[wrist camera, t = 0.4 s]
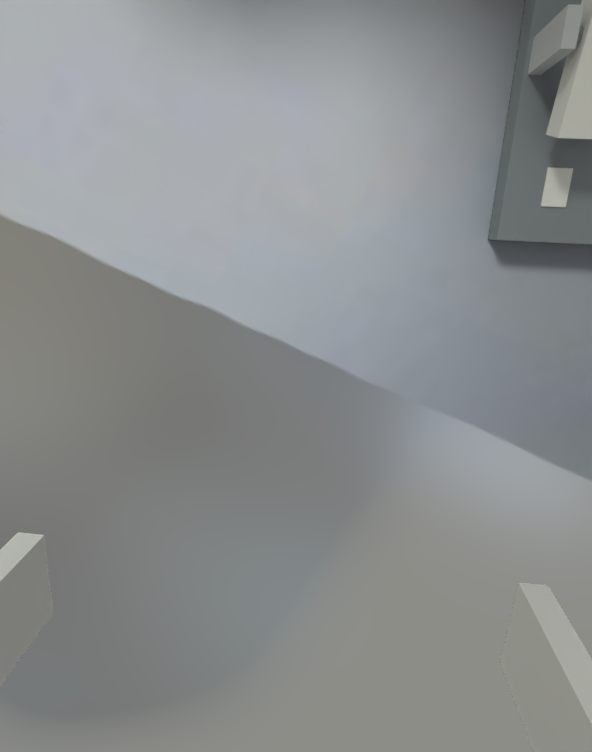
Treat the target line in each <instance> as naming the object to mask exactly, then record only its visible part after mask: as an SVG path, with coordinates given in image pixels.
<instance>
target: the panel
mask: <svg viewBox="0 0 592 752" xmlns="http://www.w3.org/2000/svg"><path fill="white" fill-rule="evenodd" d="M581 2H582V0H525V6H524V13H523V19H522V25H521V32H520V38H519V44H518V51H517V57H516V64H515V70H514V76H513V83H512V89H511V96H510V102H509V108H508V115H507V121H506V127H505V134H504V140H503V147H502V153H501V159H500V166H499V172H498V178H497V185H496V191H495V198H494V204H493V210H492V217H491V223H490V230H489V236H488V239H490V240H508V241H529V242H550V243H571V244H592V139H571V138H556V137H553V136H549V135H546V132H547V128H548V125H549V121H550V117H551V114H552V110H553V106H554V102H555V99H556V95H557V91H558V87H559V84H560V80H561V76H562V73H563V69H564V65H565V61H566V58H567V55H568V54H569V53H571V52H572V51H573V50H575V49H576V44H577V39H578V34H579V28H580V23H581V18H582V12H583V7H584V5H581Z"/></svg>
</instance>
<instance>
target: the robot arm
mask: <svg viewBox="0 0 592 752" xmlns="http://www.w3.org/2000/svg"><path fill="white" fill-rule="evenodd" d="M52 615H53V605H52V596H51V589H50V579H49V571H48V563H47V554H46V546H45V537H44V535H38V534H28V533H17V534H16V535H15V536H14V537H13V538H12V539H11V540H10V541H9V542H8V543H7V544H6V545H5V546H4V547H3V548H2V549H1V550H0V686H1V685H2V683H3V682H4V681H5V679H6V678H7V677H8V675H9V674H10V672H11V671H12V670H13V668H14V667H15V665H16V664H17V663H18V661H19V660H20V659H21V657H22V656H23V654H24V653H25V652H26V650H27V649H28V648H29V646H30V645H31V644H32V642H33V641H34V639H35V638H36V637H37V635H38V634H39V633H40V631H41V630H42V629H43V627H44V626H45V624H46V623H47V622H48V620H49V619H50V618H51V616H52ZM500 665H501V667H502V670H503V672H504V675H505V678H506V681H507V683H508V686H509V689H510V691H511V694H512V697H513V699H514V702H515V704H516V707H517V710H518V712H519V715H520V717H521V720H522V723H523V726H524V728H525V731H526V734H527V736H528V739H529V742H530V744H531V747H532V750H533V752H592V659H591V657H590V656H589V654H588V652H587V650H586V649H585V647H584V645H583V644H582V642H581V640H580V639H579V637H578V635H577V634H576V632H575V630H574V629H573V627H572V625H571V624H570V622H569V621H568V618H567V617H566V615H565V613H564V612H563V610H562V608H561V607H560V605H559V603H558V602H557V600H556V598H555V597H554V595H553V593H552V591H551V590H550V588H549V586H548V585H540V584H530V583H520V582H519V583H518V587H517V591H516V595H515V599H514V603H513V608H512V612H511V616H510V620H509V624H508V629H507V633H506V637H505V641H504V646H503V650H502V654H501V658H500Z"/></svg>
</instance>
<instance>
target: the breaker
mask: <svg viewBox="0 0 592 752" xmlns="http://www.w3.org/2000/svg"><path fill="white" fill-rule="evenodd" d="M581 5H584V7H583V12H582V18H581V23H580V28H579V34H578V39H577V44H576V49H575V50H573V51H572V52H571V53H569V54H568V55H567V58H566V61H565V65H564V69H563V73H562V76H561V80H560V84H559V87H558V91H557V95H556V99H555V102H554V106H553V110H552V114H551V117H550V121H549V125H548V128H547V132H546V135H549V136H553V137H556V138H571V139H592V0H582V2H581Z"/></svg>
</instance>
